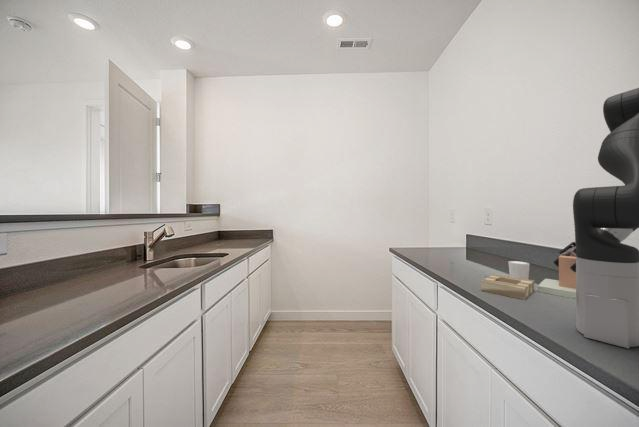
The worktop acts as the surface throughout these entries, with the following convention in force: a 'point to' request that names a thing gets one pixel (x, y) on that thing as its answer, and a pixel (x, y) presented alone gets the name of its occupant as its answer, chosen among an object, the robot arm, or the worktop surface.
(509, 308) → the worktop surface
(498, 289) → the birch holder
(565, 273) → the terracotta block
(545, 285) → the sage tile platform
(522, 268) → the white cube
